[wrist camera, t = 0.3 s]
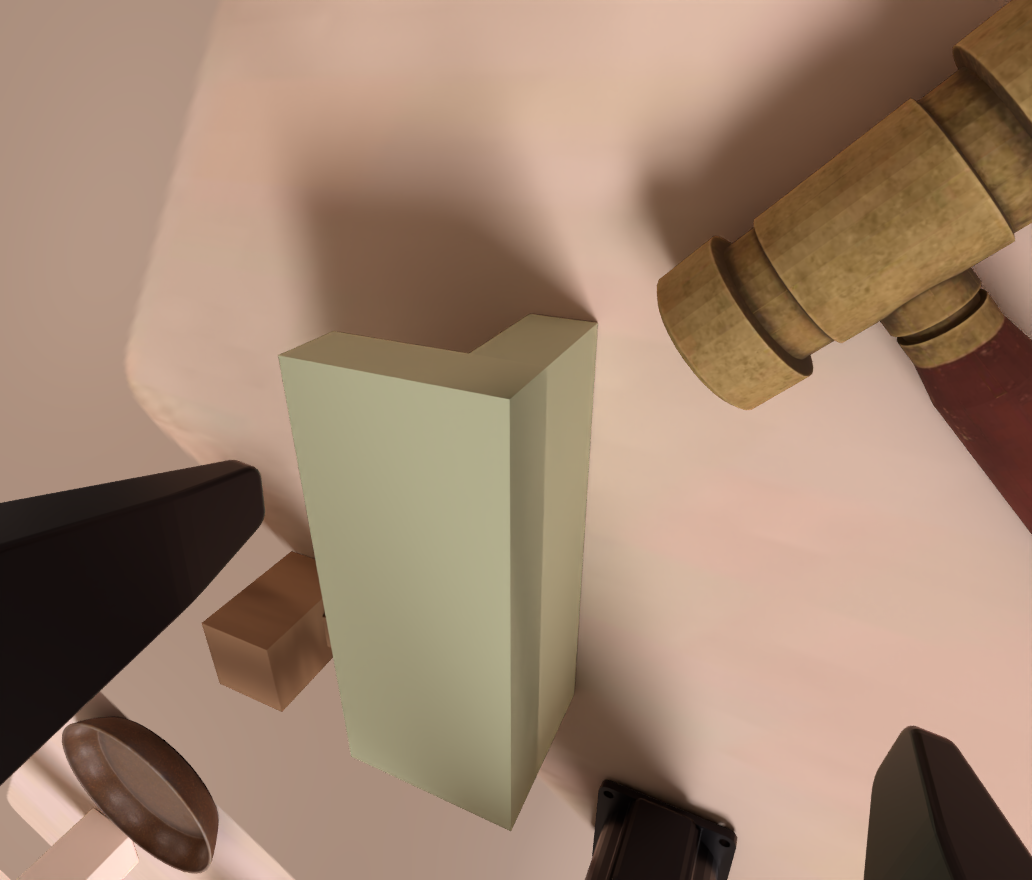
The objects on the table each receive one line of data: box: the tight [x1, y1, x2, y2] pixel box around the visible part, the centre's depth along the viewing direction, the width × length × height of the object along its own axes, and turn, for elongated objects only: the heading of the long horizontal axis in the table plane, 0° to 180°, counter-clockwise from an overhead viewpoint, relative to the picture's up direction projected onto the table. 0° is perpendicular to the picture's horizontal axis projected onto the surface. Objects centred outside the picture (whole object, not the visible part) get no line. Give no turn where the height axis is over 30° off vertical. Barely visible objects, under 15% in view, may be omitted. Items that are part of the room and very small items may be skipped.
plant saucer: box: [62, 717, 218, 873], centre depth 57 cm, size 18×18×3 cm
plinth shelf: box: [278, 314, 598, 831], centre depth 24 cm, size 18×8×7 cm, turn 0°
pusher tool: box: [202, 551, 333, 712], centre depth 31 cm, size 4×14×6 cm, turn 90°
